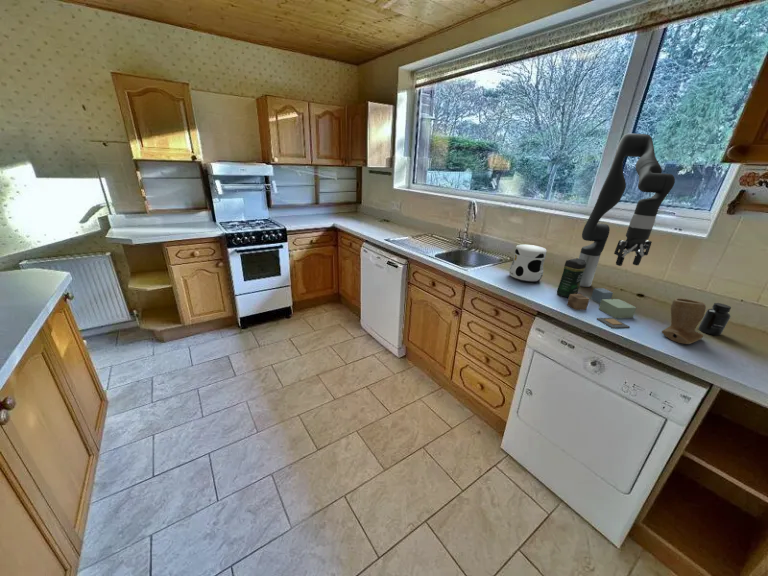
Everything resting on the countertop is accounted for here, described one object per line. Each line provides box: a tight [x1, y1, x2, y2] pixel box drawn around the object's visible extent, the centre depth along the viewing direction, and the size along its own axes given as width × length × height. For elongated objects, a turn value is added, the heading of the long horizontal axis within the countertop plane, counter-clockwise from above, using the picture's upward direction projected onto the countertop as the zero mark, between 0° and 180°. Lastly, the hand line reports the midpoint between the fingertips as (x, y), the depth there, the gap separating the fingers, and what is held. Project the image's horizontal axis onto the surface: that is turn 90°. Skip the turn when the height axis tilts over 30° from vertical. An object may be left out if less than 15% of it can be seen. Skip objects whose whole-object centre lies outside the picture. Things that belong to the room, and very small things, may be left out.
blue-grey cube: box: [590, 287, 614, 304], centre depth 153 cm, size 6×6×6 cm
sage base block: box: [598, 298, 637, 319], centre depth 141 cm, size 9×9×5 cm
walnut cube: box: [566, 293, 590, 311], centre depth 145 cm, size 6×6×6 cm
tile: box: [596, 316, 630, 329], centre depth 131 cm, size 8×8×1 cm
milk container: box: [508, 243, 547, 283], centre depth 175 cm, size 17×17×18 cm
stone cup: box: [661, 297, 707, 345], centre depth 121 cm, size 15×12×15 cm
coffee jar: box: [556, 257, 586, 298], centre depth 156 cm, size 10×8×19 cm
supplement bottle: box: [698, 302, 732, 337], centre depth 127 cm, size 7×7×12 cm
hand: (627, 265), depth 133 cm, fingers open, 8 cm apart
